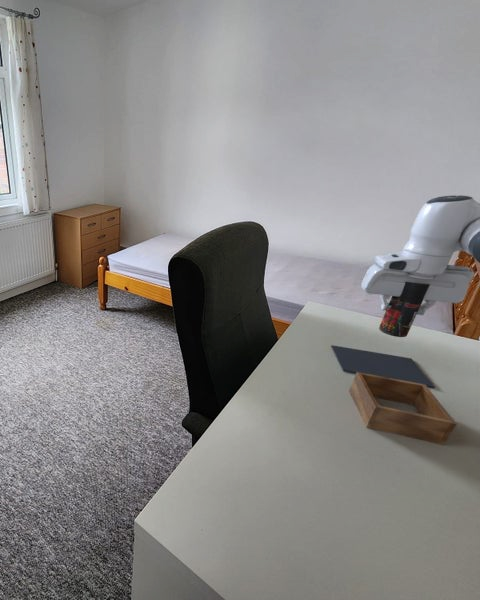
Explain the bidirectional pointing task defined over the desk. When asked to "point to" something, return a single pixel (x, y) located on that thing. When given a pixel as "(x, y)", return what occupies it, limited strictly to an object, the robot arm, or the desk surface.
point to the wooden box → (423, 426)
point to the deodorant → (403, 310)
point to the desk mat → (380, 365)
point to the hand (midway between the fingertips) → (401, 311)
